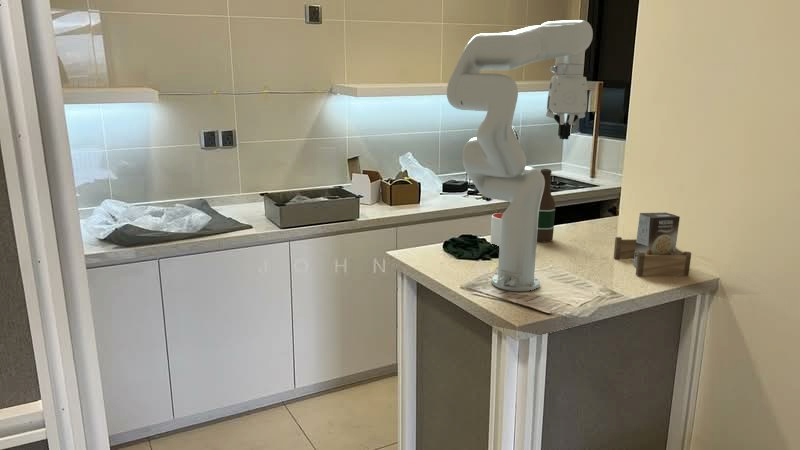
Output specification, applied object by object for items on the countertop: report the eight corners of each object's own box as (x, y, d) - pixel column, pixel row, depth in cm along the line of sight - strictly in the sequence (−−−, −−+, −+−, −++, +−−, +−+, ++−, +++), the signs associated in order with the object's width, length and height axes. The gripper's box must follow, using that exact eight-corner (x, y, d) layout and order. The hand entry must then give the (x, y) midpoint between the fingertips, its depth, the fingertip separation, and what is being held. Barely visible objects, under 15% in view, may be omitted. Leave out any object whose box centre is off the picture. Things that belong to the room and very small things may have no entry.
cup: (488, 241, 210) (489, 212, 208) (518, 242, 210) (519, 213, 208) (492, 250, 201) (494, 219, 198) (524, 250, 201) (526, 219, 198)
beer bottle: (527, 240, 212) (532, 170, 206) (531, 235, 219) (536, 167, 213) (550, 243, 209) (556, 171, 204) (554, 238, 216) (559, 168, 211)
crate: (688, 276, 177) (691, 252, 176) (637, 276, 176) (640, 252, 175) (659, 258, 194) (662, 236, 193) (613, 258, 194) (615, 236, 192)
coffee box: (646, 272, 180) (652, 217, 176) (632, 266, 186) (638, 212, 182) (673, 270, 182) (680, 216, 179) (659, 264, 188) (665, 211, 185)
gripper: (545, 70, 168) (541, 140, 172) (600, 71, 169) (594, 140, 173) (538, 70, 175) (533, 137, 180) (591, 71, 176) (585, 137, 180)
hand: (563, 138), depth 176 cm, fingers closed
